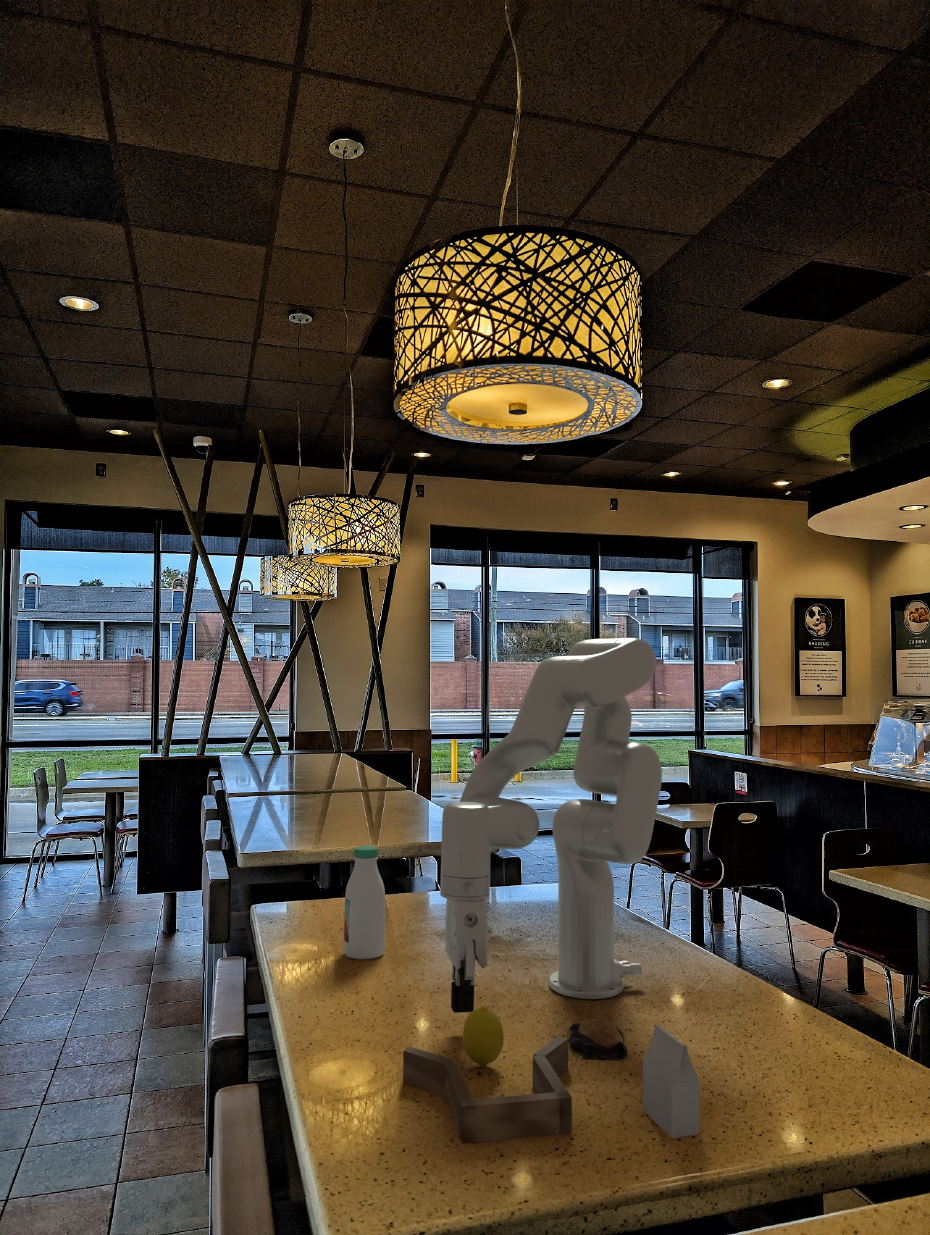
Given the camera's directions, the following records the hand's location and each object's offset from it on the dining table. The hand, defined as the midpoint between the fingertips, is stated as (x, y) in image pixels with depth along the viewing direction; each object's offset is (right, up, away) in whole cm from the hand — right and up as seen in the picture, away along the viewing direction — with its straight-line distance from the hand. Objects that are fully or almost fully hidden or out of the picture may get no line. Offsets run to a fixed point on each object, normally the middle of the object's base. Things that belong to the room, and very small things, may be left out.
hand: (462, 1010), depth 130 cm
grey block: (+25, -2, -27) cm, 37 cm away
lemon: (+3, -2, -13) cm, 13 cm away
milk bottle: (-19, -5, +35) cm, 40 cm away
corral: (+5, -1, -22) cm, 23 cm away
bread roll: (+20, -4, -5) cm, 20 cm away
